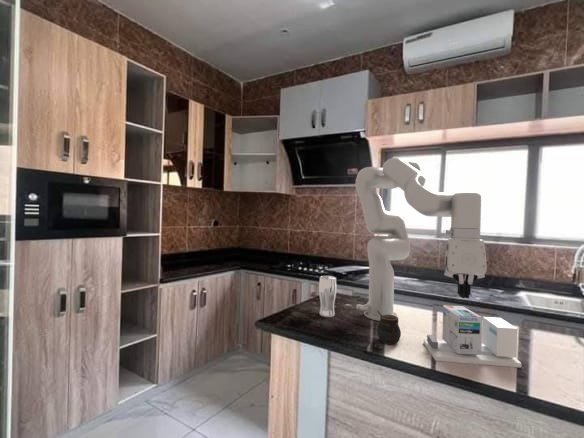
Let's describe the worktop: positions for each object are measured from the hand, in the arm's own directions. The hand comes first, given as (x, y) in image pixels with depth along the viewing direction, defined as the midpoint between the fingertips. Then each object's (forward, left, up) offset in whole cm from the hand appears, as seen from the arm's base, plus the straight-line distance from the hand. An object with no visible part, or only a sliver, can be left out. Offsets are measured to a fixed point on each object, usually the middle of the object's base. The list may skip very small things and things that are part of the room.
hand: (463, 296), depth 92 cm
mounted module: (+10, 0, -15) cm, 18 cm away
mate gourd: (-20, +5, -17) cm, 27 cm away
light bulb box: (0, 0, -15) cm, 15 cm away
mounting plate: (+2, 0, -17) cm, 17 cm away
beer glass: (-40, +28, -17) cm, 52 cm away
